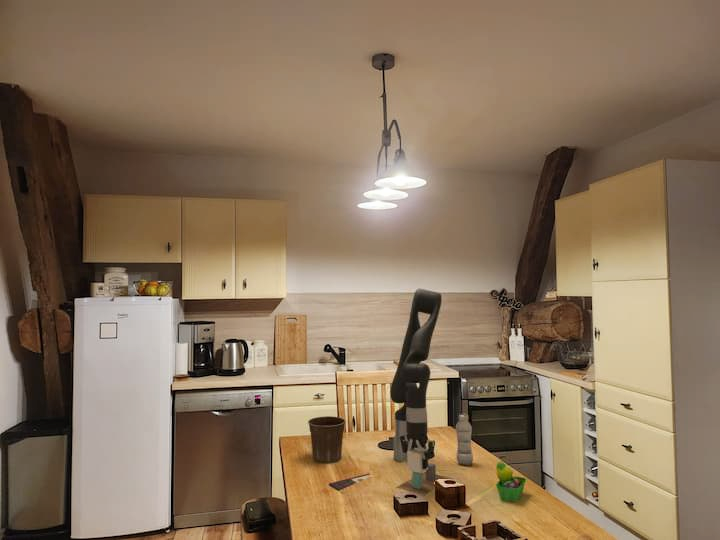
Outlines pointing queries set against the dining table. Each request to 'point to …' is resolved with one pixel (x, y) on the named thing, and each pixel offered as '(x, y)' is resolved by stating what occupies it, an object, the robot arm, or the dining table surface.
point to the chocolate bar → (348, 482)
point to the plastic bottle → (464, 440)
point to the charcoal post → (431, 472)
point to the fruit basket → (509, 483)
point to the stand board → (427, 485)
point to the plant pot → (326, 438)
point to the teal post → (417, 480)
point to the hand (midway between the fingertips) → (417, 467)
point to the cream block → (415, 461)
